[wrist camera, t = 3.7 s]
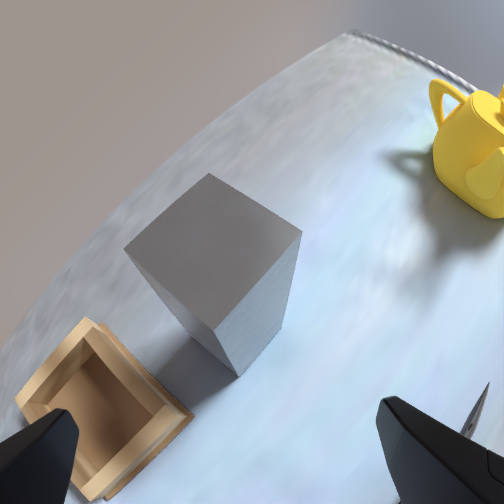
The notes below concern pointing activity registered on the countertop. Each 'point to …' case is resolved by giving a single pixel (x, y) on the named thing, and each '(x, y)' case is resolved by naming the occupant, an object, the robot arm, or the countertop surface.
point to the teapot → (471, 147)
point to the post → (220, 268)
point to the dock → (104, 408)
